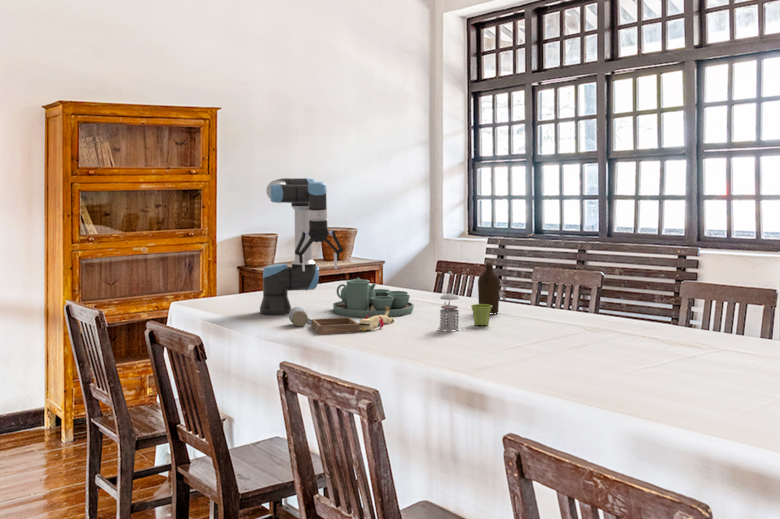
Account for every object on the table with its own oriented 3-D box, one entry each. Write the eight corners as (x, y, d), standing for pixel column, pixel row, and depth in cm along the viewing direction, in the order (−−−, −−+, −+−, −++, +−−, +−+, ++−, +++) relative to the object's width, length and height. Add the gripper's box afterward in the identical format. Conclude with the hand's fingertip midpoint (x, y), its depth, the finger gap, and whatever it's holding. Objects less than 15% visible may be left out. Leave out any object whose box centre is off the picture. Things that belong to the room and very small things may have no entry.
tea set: (414, 318, 320) (414, 283, 318) (328, 318, 320) (328, 283, 319) (412, 305, 359) (413, 274, 358) (336, 304, 360) (336, 273, 358)
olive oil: (502, 314, 330) (503, 262, 328) (481, 315, 328) (481, 263, 326) (495, 311, 340) (496, 260, 338) (474, 311, 339) (475, 261, 337)
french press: (463, 328, 295) (463, 270, 293) (456, 333, 285) (457, 273, 282) (440, 326, 299) (441, 269, 296) (433, 331, 288) (434, 272, 286)
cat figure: (378, 324, 311) (351, 329, 288) (379, 305, 311) (352, 308, 288) (398, 326, 307) (372, 331, 284) (399, 306, 307) (373, 310, 284)
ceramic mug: (291, 327, 295) (292, 309, 294) (288, 324, 303) (288, 307, 302) (316, 326, 298) (316, 309, 298) (312, 323, 306) (312, 306, 305)
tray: (311, 326, 297) (311, 319, 296) (349, 324, 302) (349, 317, 301) (319, 334, 280) (319, 326, 280) (359, 332, 286) (359, 324, 285)
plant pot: (466, 325, 302) (466, 305, 302) (478, 322, 309) (479, 303, 309) (483, 327, 296) (484, 307, 295) (496, 325, 303) (496, 305, 302)
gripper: (288, 222, 278) (290, 273, 283) (349, 219, 284) (350, 269, 289) (286, 219, 285) (289, 269, 290) (346, 217, 291) (347, 265, 296)
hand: (319, 269), depth 289 cm, fingers open, 13 cm apart
